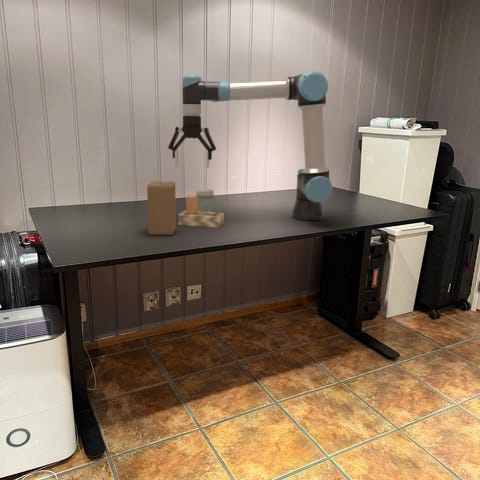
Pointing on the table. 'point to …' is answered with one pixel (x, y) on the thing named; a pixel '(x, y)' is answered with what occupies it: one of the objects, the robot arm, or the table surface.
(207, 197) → the coffee cup
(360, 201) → the table surface
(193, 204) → the peg
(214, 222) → the socket block
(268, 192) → the table surface
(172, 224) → the block
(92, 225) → the table surface
